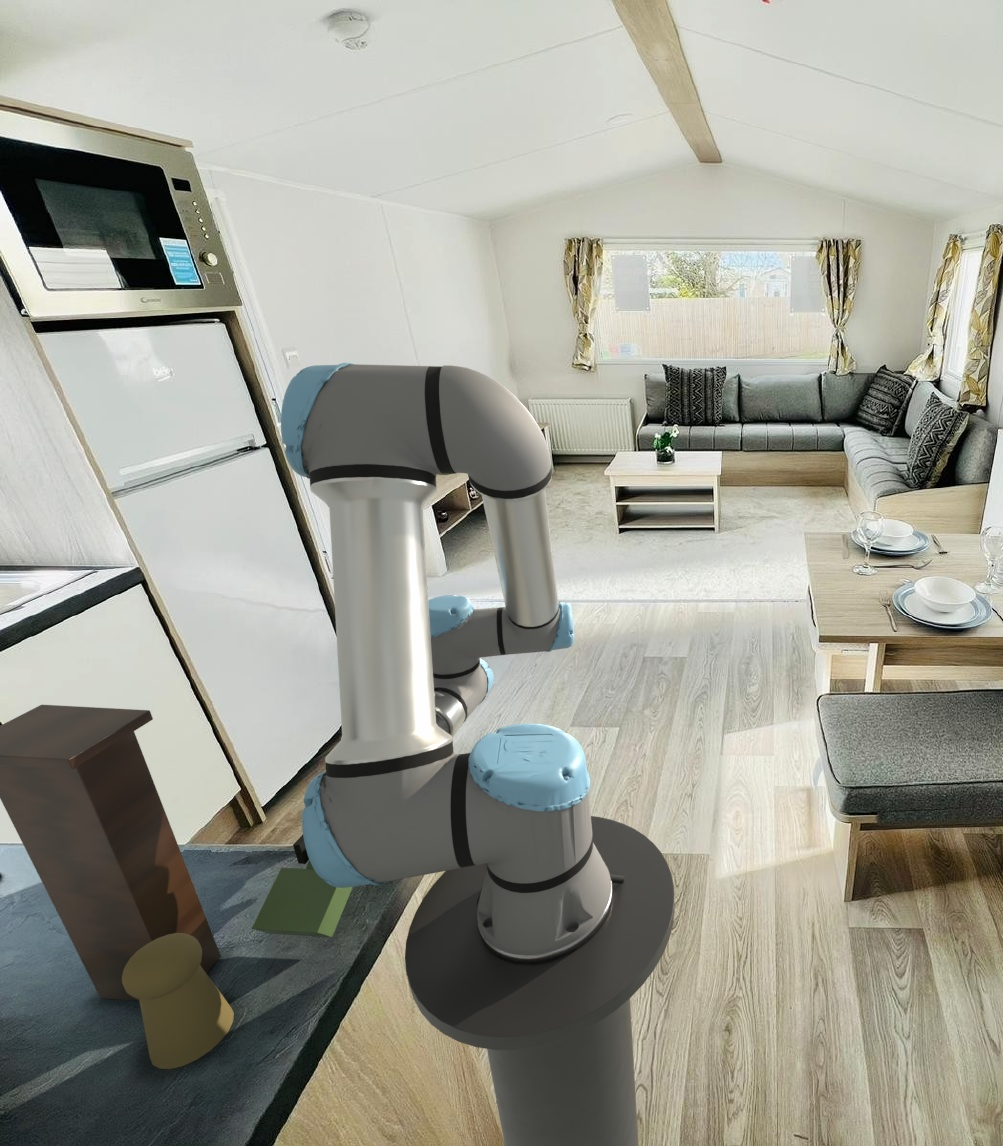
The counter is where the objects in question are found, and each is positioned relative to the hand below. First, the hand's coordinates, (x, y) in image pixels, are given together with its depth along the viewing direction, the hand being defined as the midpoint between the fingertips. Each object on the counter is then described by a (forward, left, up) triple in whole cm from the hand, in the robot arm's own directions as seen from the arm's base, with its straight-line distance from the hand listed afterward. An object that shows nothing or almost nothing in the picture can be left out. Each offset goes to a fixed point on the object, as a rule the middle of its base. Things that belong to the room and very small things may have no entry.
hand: (313, 854), depth 70 cm
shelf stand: (+11, +9, -8) cm, 16 cm away
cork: (+3, +14, -8) cm, 17 cm away
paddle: (0, -2, -3) cm, 4 cm away
